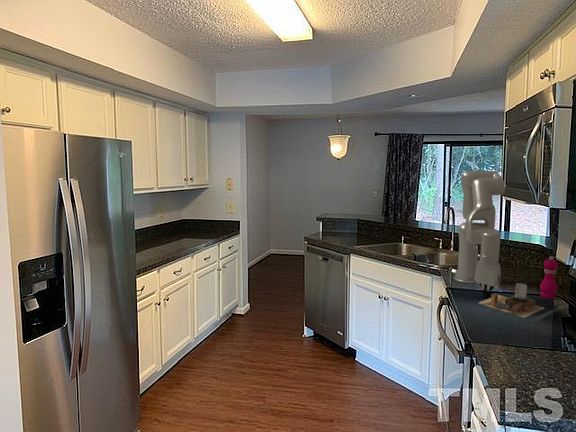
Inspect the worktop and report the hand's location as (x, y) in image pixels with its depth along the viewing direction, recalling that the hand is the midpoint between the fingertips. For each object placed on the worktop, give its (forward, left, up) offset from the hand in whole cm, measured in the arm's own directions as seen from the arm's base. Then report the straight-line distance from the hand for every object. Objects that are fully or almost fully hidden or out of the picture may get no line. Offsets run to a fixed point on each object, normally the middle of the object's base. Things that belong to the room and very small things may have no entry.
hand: (486, 298), depth 199 cm
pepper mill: (+11, +36, -4) cm, 37 cm away
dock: (+8, +7, -4) cm, 11 cm away
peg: (+11, +9, -3) cm, 14 cm away
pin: (+7, 0, -2) cm, 7 cm away
